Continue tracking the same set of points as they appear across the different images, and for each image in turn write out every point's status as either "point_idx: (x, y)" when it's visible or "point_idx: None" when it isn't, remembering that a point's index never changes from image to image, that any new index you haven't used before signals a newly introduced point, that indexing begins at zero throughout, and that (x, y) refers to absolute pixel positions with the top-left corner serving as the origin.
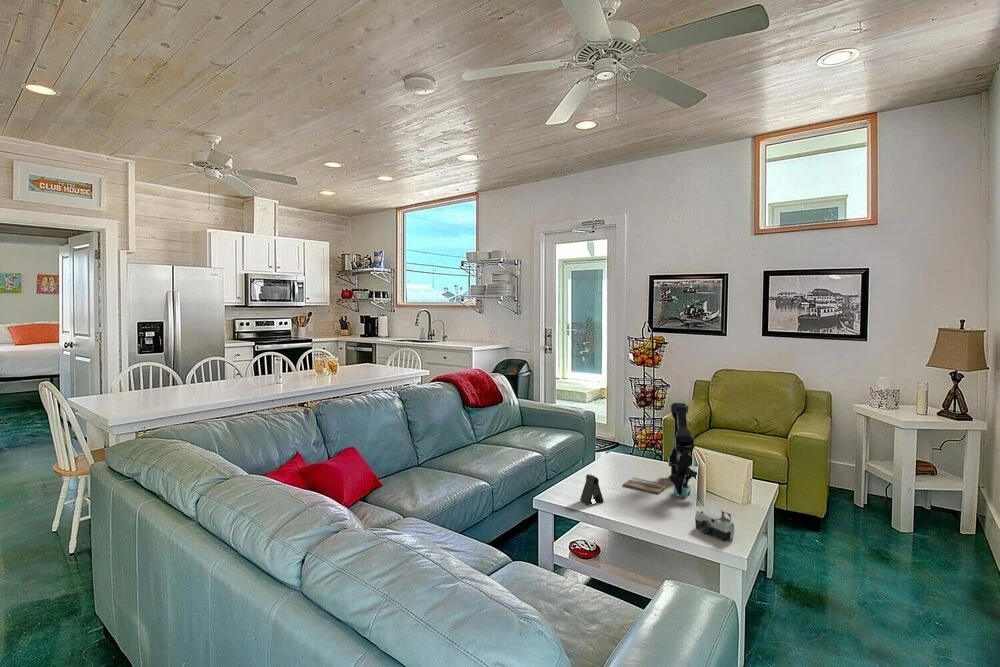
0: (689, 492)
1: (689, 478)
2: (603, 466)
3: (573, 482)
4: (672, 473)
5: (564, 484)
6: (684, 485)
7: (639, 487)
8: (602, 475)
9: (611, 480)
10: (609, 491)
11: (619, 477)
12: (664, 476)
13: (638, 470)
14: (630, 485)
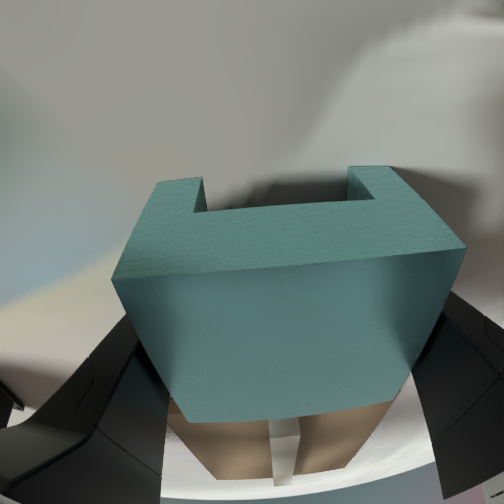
0: (199, 203)
1: (57, 472)
2: (176, 495)
3: (376, 478)
4: (5, 423)
5: (400, 472)
6: (211, 364)
7: (355, 446)
8: (262, 490)
9: (295, 479)
10: (424, 441)
11: (238, 481)
12: None
13: None
14: (344, 460)
